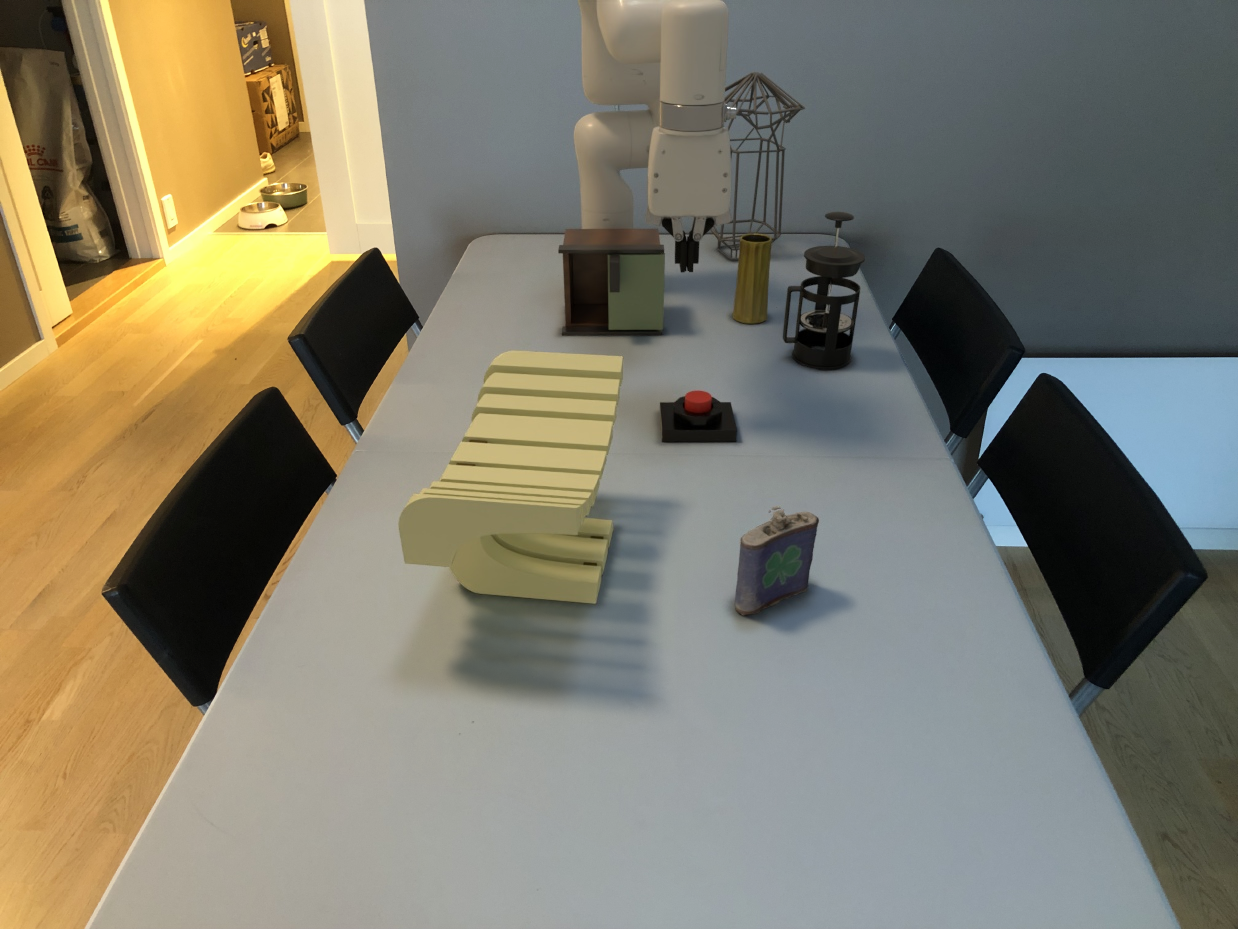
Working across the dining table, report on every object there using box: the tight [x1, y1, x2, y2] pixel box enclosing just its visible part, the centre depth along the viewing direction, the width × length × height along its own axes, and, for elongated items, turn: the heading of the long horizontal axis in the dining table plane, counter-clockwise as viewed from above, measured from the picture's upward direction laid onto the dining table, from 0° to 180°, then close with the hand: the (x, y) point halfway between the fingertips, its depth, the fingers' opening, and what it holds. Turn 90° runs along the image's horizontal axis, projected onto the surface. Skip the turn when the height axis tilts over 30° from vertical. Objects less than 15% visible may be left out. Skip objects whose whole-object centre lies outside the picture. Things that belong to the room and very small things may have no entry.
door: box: [608, 252, 666, 331], centre depth 141 cm, size 9×4×13 cm, turn 90°
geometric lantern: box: [709, 71, 806, 261], centre depth 173 cm, size 16×16×35 cm
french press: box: [782, 211, 866, 371], centre depth 132 cm, size 12×9×23 cm
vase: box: [731, 232, 773, 325], centre depth 149 cm, size 6×6×14 cm
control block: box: [659, 395, 738, 443], centre depth 118 cm, size 10×8×4 cm
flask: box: [733, 505, 820, 616], centre depth 87 cm, size 9×3×11 cm, turn 121°
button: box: [684, 390, 713, 413], centre depth 117 cm, size 4×4×2 cm
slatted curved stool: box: [398, 350, 624, 605], centre depth 90 cm, size 30×16×18 cm, turn 172°
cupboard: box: [557, 228, 665, 336], centre depth 148 cm, size 17×13×15 cm
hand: (686, 268), depth 111 cm, fingers closed
